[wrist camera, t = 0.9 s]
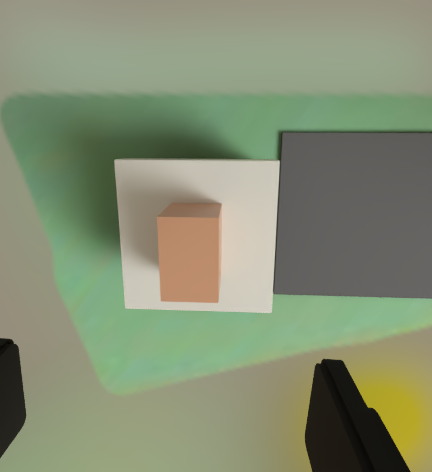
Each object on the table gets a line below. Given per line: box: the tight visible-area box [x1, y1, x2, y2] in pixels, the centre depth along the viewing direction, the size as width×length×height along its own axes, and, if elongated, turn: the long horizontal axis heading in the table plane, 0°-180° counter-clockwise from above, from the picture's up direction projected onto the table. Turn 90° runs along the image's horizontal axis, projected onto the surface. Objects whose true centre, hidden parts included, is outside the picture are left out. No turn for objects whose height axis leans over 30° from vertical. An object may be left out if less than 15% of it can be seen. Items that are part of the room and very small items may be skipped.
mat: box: [274, 133, 432, 299], centre depth 35 cm, size 17×17×1 cm
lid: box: [114, 158, 280, 313], centre depth 26 cm, size 13×13×7 cm
